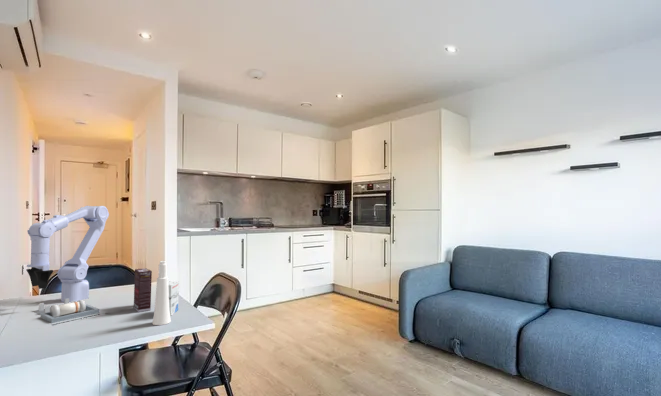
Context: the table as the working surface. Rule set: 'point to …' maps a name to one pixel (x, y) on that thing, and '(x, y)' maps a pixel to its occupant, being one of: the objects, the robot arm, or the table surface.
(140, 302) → the supplement box
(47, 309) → the fuse holder
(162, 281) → the cosmetic bottle
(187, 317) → the table surface
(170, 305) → the ink box
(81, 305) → the fuse
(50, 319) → the tray
